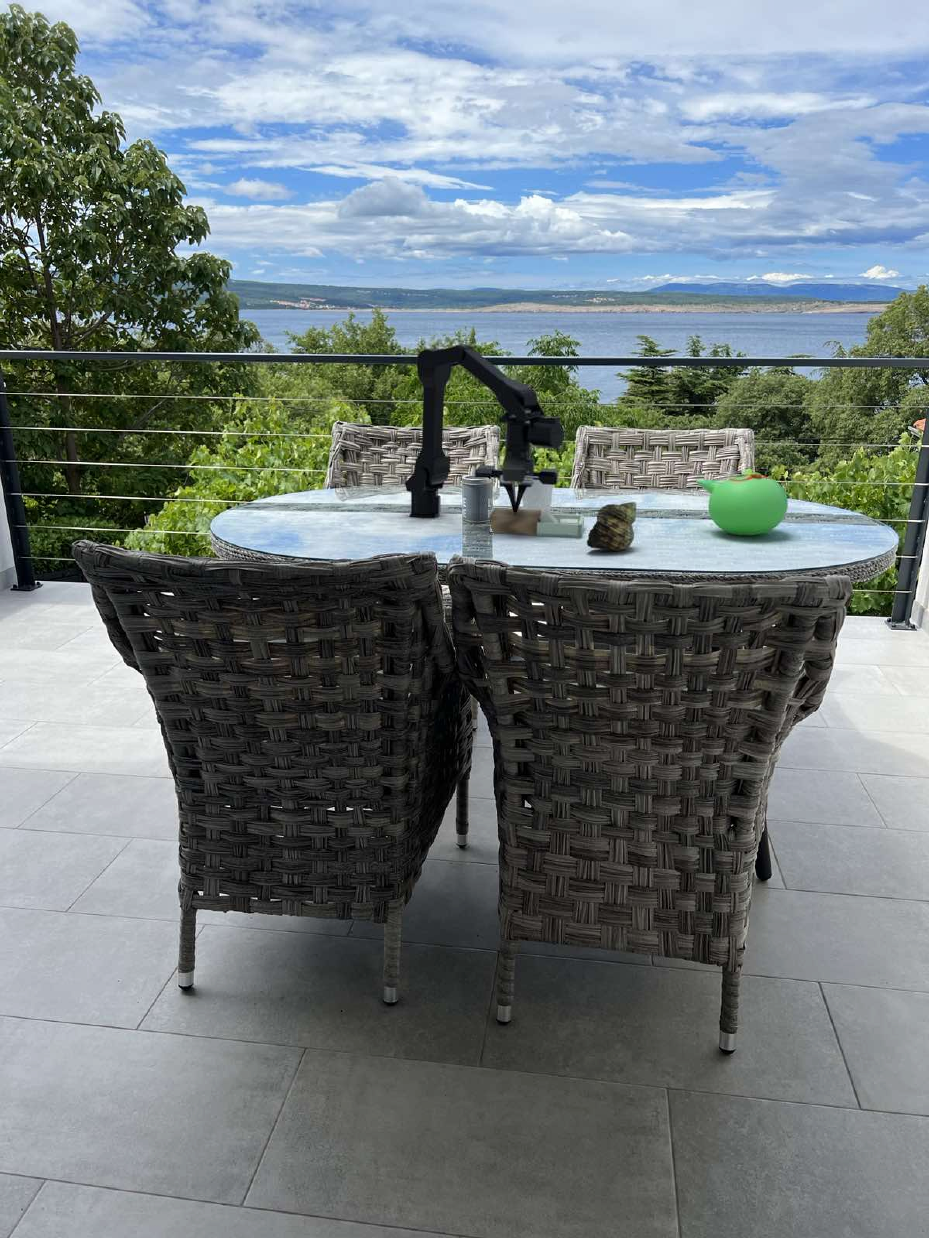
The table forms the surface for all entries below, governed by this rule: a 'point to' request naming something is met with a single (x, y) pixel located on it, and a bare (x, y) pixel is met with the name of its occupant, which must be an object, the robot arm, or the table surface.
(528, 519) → the tan cardboard slab
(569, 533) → the tray
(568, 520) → the tile
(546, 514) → the tile
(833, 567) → the table surface
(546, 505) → the white cup
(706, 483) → the green teapot
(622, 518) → the seashell
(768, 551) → the table surface
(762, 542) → the table surface
